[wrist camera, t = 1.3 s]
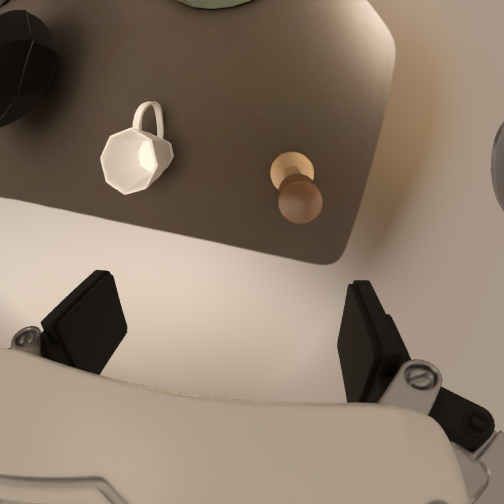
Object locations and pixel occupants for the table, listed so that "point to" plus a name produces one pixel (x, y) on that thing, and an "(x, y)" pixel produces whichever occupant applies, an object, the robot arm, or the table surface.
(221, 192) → the table surface
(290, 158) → the brown long flanged bar
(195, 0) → the bowl
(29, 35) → the table lamp
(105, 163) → the cup
